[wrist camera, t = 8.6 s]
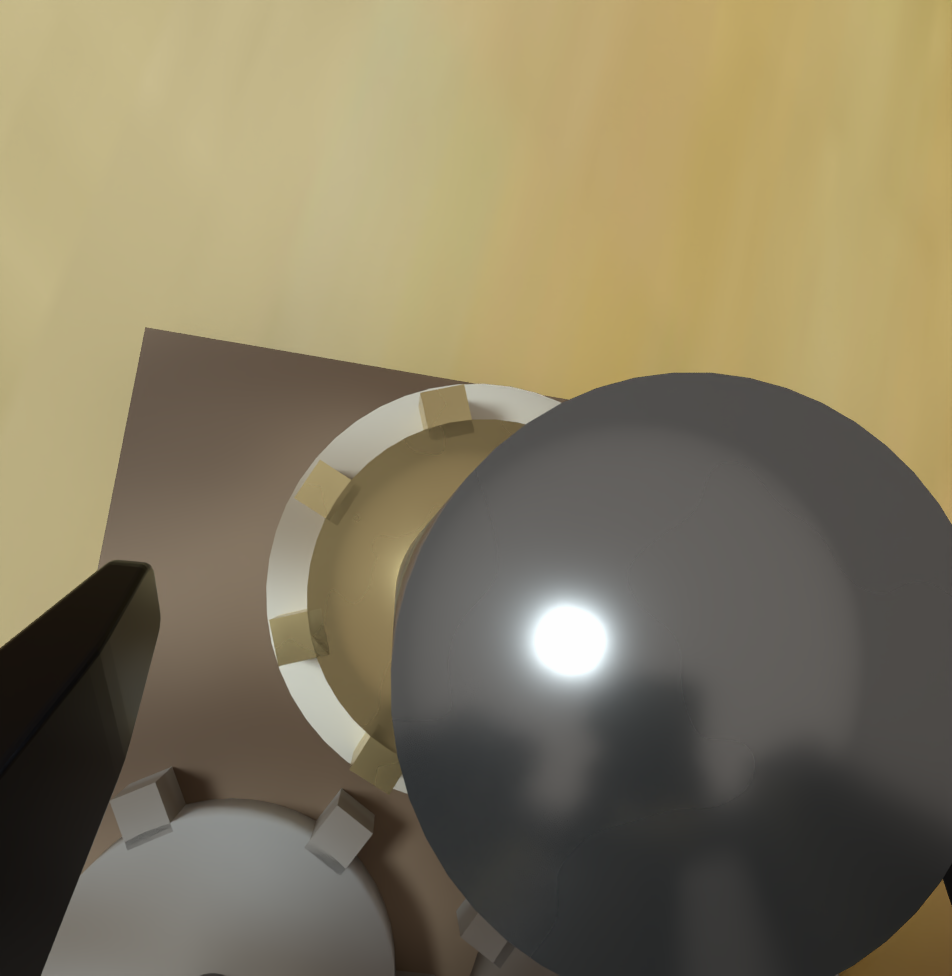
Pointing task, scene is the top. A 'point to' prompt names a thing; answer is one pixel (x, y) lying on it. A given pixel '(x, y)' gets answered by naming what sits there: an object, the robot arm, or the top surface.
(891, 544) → the gear with grey post
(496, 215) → the top surface
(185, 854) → the gear board
